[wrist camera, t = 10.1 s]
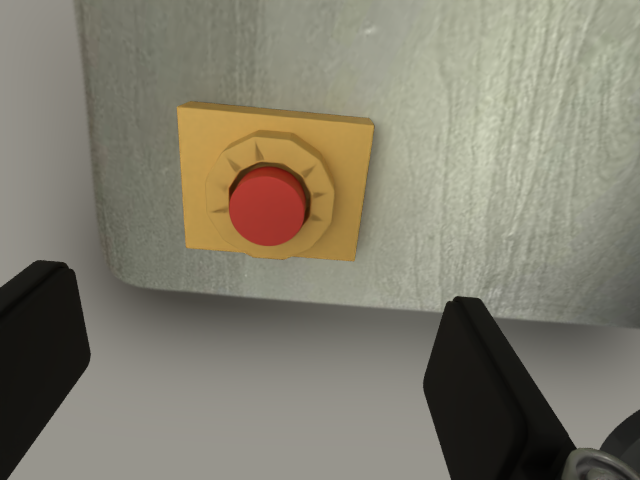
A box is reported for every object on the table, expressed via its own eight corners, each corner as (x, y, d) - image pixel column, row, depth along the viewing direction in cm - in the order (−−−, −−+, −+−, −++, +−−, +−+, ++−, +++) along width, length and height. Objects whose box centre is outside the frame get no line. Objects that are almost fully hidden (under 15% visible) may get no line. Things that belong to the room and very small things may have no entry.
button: (308, 169, 20) (307, 179, 18) (302, 234, 21) (301, 249, 20) (235, 162, 19) (228, 172, 18) (235, 229, 21) (228, 243, 19)
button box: (369, 118, 22) (379, 131, 18) (351, 245, 26) (357, 277, 22) (189, 100, 22) (163, 111, 18) (195, 232, 25) (175, 263, 22)
